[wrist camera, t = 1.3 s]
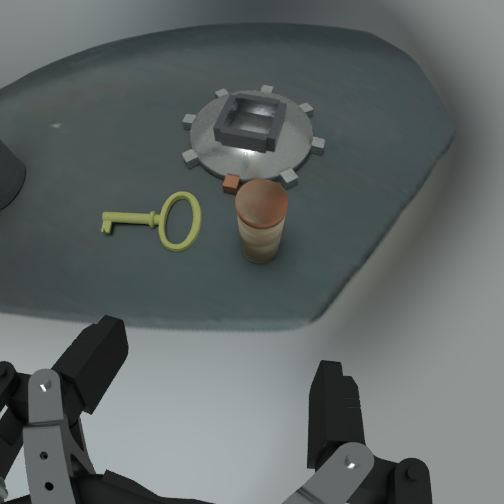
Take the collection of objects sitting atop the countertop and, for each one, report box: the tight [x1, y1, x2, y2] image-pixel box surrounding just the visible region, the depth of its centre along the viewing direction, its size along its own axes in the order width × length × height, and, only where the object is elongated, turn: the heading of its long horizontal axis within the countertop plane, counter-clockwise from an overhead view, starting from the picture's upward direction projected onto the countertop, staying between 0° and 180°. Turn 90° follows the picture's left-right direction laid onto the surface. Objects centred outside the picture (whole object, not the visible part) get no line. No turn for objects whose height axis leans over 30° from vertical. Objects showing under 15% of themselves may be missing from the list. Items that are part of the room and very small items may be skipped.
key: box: [101, 192, 202, 252], centre depth 33 cm, size 7×12×2 cm, turn 105°
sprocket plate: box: [182, 85, 325, 195], centre depth 36 cm, size 19×19×4 cm
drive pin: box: [235, 179, 288, 264], centre depth 28 cm, size 4×4×10 cm
